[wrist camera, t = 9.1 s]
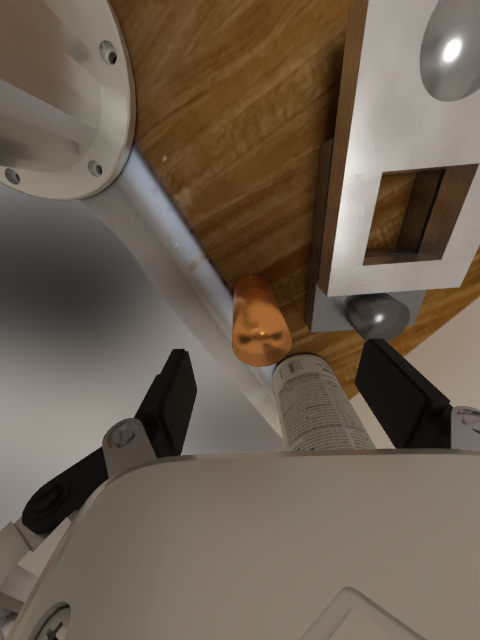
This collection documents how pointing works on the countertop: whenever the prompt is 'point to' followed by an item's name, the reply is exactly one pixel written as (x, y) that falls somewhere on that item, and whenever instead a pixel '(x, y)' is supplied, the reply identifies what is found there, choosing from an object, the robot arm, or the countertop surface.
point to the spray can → (315, 408)
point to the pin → (258, 323)
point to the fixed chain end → (377, 308)
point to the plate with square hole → (405, 141)
